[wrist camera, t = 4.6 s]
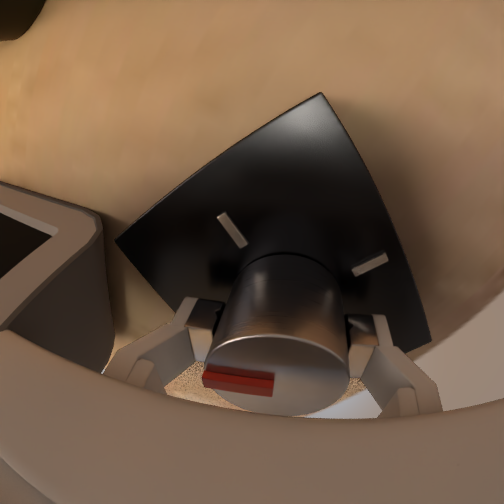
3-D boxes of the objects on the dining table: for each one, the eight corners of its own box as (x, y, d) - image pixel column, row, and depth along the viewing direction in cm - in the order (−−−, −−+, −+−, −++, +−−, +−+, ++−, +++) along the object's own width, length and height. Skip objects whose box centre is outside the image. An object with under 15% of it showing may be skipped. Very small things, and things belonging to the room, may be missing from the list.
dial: (350, 257, 10) (369, 350, 6) (331, 342, 12) (332, 426, 8) (229, 249, 10) (188, 333, 7) (234, 333, 12) (210, 414, 9)
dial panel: (417, 303, 14) (433, 344, 11) (270, 360, 18) (263, 399, 15) (316, 95, 10) (322, 90, 7) (144, 214, 14) (110, 242, 11)
